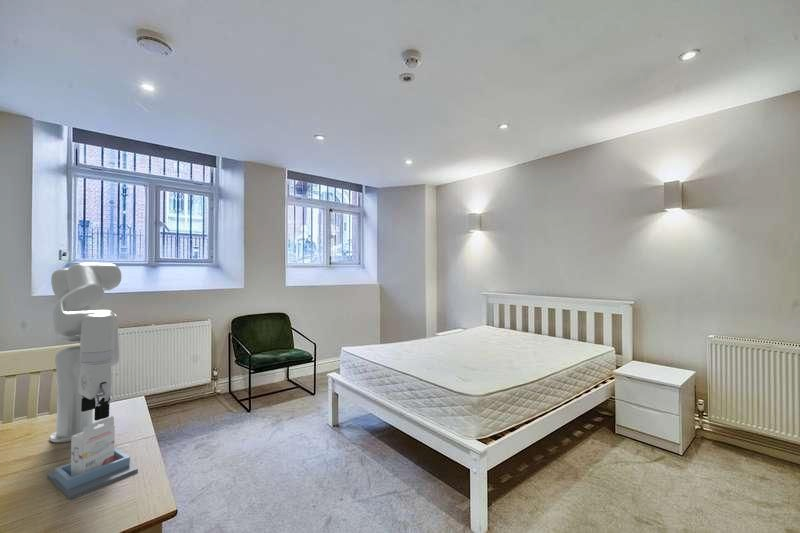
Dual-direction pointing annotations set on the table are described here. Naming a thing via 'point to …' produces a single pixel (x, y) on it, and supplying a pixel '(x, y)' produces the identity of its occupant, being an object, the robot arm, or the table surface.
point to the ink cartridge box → (93, 446)
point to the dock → (92, 476)
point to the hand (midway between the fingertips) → (94, 414)
